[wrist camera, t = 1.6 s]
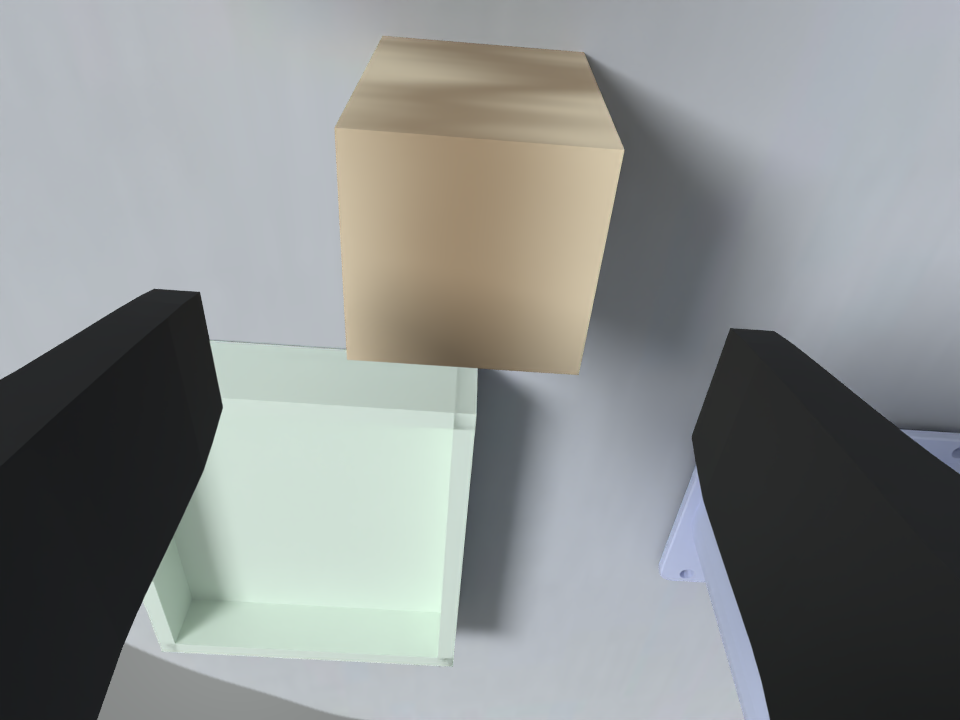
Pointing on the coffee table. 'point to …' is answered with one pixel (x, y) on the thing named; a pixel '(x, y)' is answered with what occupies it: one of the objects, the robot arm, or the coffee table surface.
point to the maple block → (473, 205)
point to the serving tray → (324, 512)
